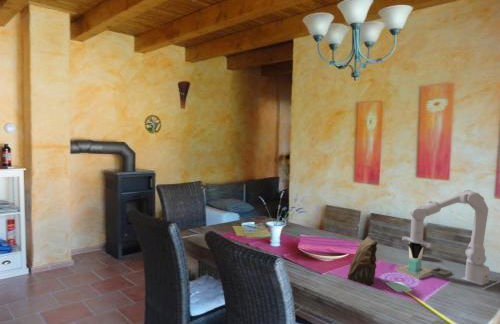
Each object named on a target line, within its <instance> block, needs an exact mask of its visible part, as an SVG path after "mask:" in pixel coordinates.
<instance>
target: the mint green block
mask: <svg viewBox="0 0 500 324" xmlns="http://www.w3.org/2000/svg"><path fill="white" fill-rule="evenodd" d="M407 261H408V262H407V264H408V270H411V271H414V272H418V271H421V267H422V259H415V258H413V259H410V258H409V259H408V260H407Z"/></svg>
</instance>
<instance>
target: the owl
mask: <svg viewBox="0 0 500 324" xmlns="http://www.w3.org/2000/svg"><path fill="white" fill-rule="evenodd" d="M377 245H378V242H377V241H376V240H375V239H374V240H373V239H371V237H370V236H368V235H367V236H366V238H365V239H364V240H363V241H361V243H360V244H359V245H358V247H357V249H356V250H355V251H356V252H355V254H354V256H353V259H352V261H351V262H350V265H349V269H348V271H347V272H348V273H347V277H346V278H347V280H349V281H352V282H355V283H359V284H362V285H364V286H369V287H370V286H373V285H374V284H375V283H374V279H375V276H376V268H377V264H376V262H377V256H376V254H377V251H378V248H377Z"/></svg>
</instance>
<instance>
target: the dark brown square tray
mask: <svg viewBox="0 0 500 324" xmlns="http://www.w3.org/2000/svg"><path fill="white" fill-rule="evenodd" d="M430 270H432V275H435V276H438V277H441V278H444V279H445V278H449V277H452V276H454V275H455V273H453V271H451V270H448V269H445V268H442V267H434V268H431V269H430Z"/></svg>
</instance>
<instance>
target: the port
mask: <svg viewBox="0 0 500 324" xmlns="http://www.w3.org/2000/svg"><path fill="white" fill-rule="evenodd" d="M396 272H398V273H400V274H403V275H405V276H409V277H411V278H413V279H416V280H422V279H424V278H427V277H430V276H432V275H433V274H432V270H431V269H429V268H425V267H422V266H421V271H418V272H414V271H411V270H408V263H407V264H404V265H401V266H398V267H397V266H396Z"/></svg>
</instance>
